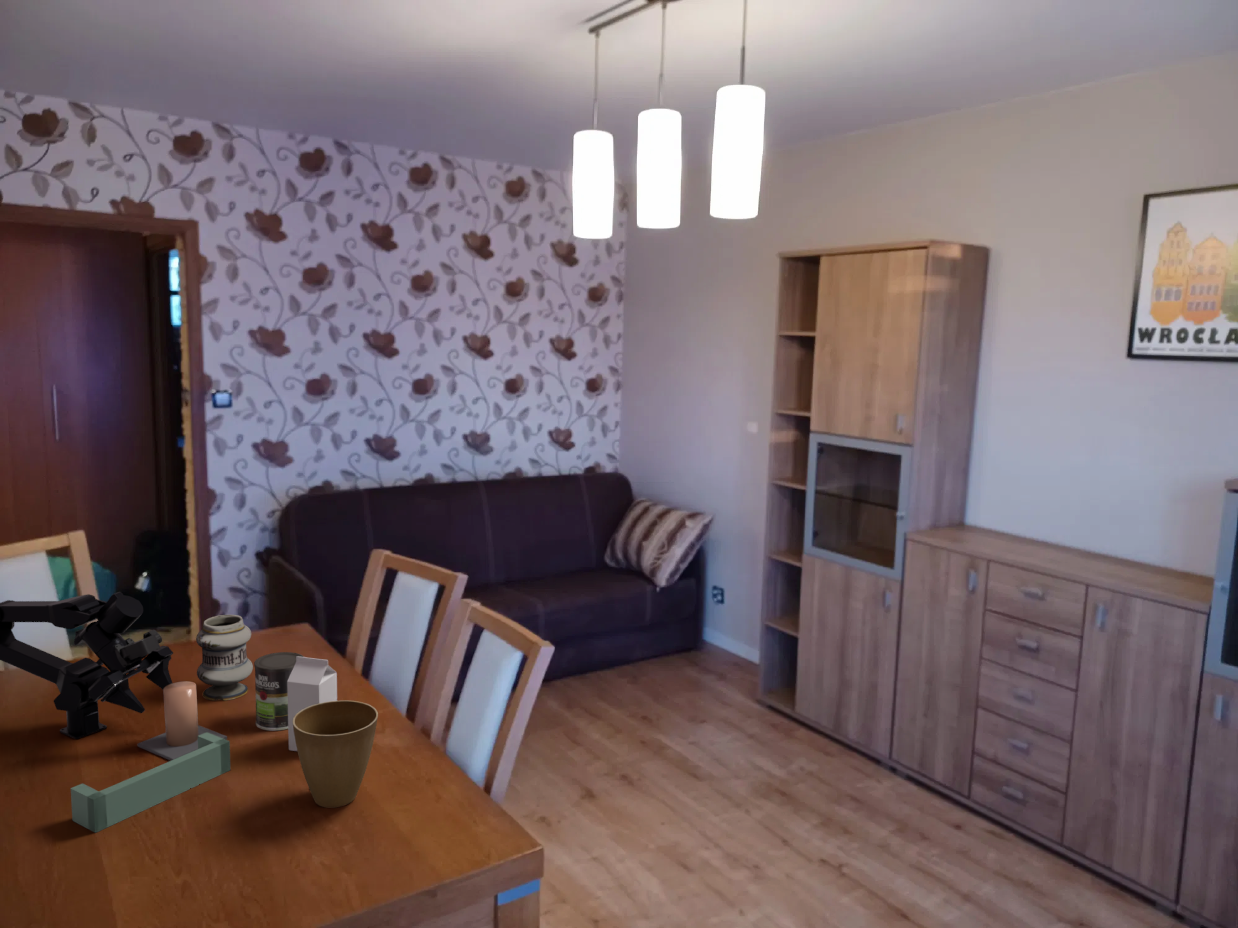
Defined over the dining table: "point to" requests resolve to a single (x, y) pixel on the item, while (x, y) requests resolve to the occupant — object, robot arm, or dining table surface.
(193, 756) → the green bracket handle
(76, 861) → the dining table surface
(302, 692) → the milk carton
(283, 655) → the coffee can
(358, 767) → the plant pot
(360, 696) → the dining table surface
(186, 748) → the mat
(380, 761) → the dining table surface
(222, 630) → the apothecary jar
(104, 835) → the dining table surface
